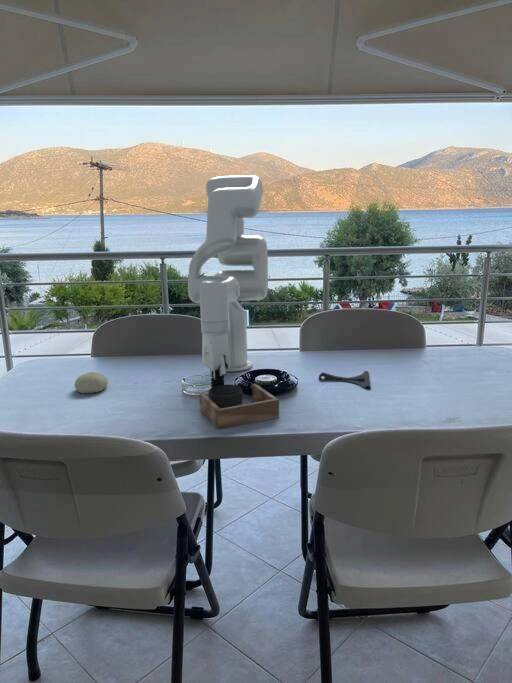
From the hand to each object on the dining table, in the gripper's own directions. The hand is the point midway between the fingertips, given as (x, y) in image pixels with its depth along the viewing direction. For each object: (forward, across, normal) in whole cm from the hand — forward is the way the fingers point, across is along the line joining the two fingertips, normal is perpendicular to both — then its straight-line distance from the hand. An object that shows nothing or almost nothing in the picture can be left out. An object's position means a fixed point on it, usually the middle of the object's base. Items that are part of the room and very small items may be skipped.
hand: (218, 391), depth 133 cm
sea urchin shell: (+2, -22, -31) cm, 38 cm away
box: (+1, +14, 0) cm, 14 cm away
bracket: (+2, +4, +38) cm, 38 cm away
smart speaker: (+1, +6, 0) cm, 7 cm away
